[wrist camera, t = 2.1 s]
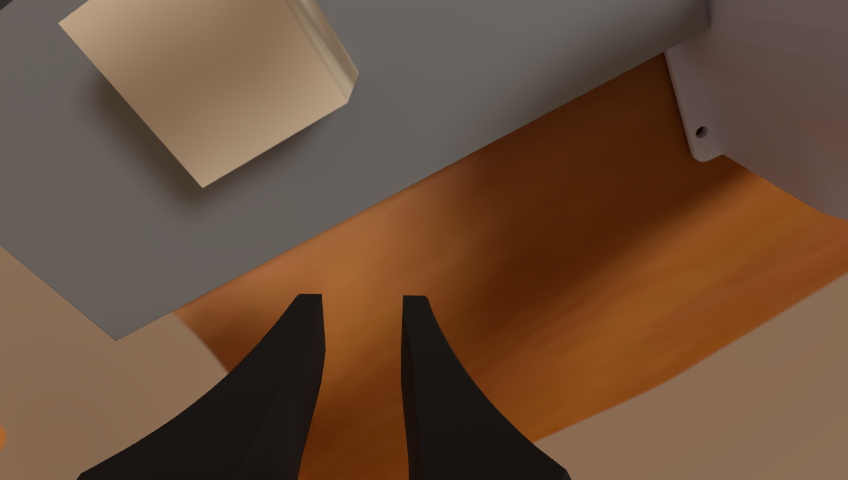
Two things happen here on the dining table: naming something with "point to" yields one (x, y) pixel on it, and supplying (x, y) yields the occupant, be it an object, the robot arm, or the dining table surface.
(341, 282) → the dining table surface
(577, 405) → the dining table surface
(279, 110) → the birch block
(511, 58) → the board
